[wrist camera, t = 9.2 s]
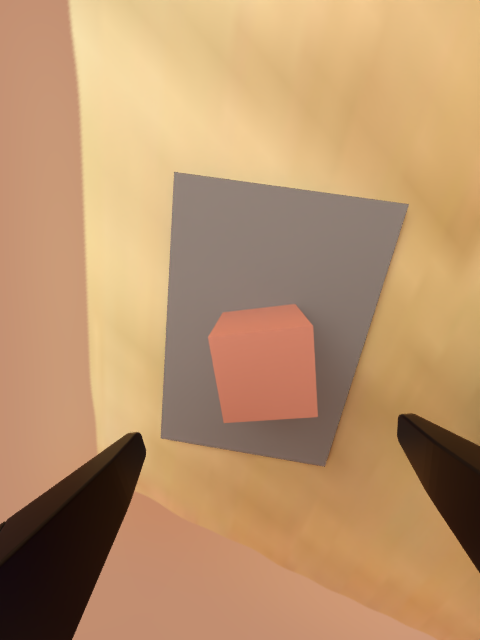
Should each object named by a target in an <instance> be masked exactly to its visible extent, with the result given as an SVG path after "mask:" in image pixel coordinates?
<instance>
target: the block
mask: <svg viewBox="0 0 480 640" xmlns="http://www.w3.org/2000/svg"><path fill="white" fill-rule="evenodd" d="M208 340H209V345H210V351H211V356H212V362H213V367H214V373H215V378H216V384H217V389H218V394H219V400H220V405H221V411H222V416H223V422H224V423H233V422H248V421H264V420H279V419H295V418H310V417H318V410H317V390H316V371H315V352H314V333H313V325H312V324H311V323H310V322H309V320H308V319H307V318H306V317H305V315H304V314H303V313H302V312H301V310H300V309H299V308H298V307H297V305H296V304H290V305H282V306H273V307H265V308H256V309H247V310H239V311H230V312H223V313H222V314H221V316H220V318H219V320H218V321H217V323H216V325H215V326H214V328H213V330H212V331H211V333H210V335H209V336H208Z"/></svg>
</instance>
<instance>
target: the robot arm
mask: <svg viewBox="0 0 480 640" xmlns="http://www.w3.org/2000/svg"><path fill="white" fill-rule="evenodd" d="M397 437H398V441H399V443H400V445H401V447H402V448H403V450H404V452H405V454H406V456H407V458H408V459H409V461H410V463H411V465H412V467H413V469H414V470H415V472H416V474H417V476H418V478H419V480H420V481H421V483H422V485H423V487H424V489H425V490H426V492H427V494H428V495H429V497H430V498H431V500H432V502H433V503H434V505H435V506H436V508H437V509H438V511H439V512H440V514H441V515H442V517H443V518H444V520H445V521H446V523H447V524H448V526H449V527H450V529H451V530H452V532H453V533H454V535H455V536H456V538H457V539H458V541H459V542H460V544H461V545H462V547H463V549H464V550H465V552H466V553H467V555H468V556H469V558H470V559H471V561H472V562H473V564H474V565H475V567H476V568H477V570H478V571H479V573H480V446H478V445H476V444H474V443H472V442H470V441H468V440H466V439H464V438H462V437H460V436H458V435H456V434H454V433H452V432H450V431H448V430H446V429H444V428H442V427H440V426H438V425H436V424H434V423H432V422H430V421H428V420H426V419H424V418H422V417H420V416H418V415H415V414H401V415H399V417H398V428H397ZM145 457H146V448H145V445H144V442H143V439H142V436H141V434H140V433H139V432H133V433H128V434H126V435H125V436H123V437H122V438H120V439H119V440H118V441H116V442H115V443H113V444H112V445H111V446H109V447H108V448H106V449H105V450H104V451H102V452H101V453H99V454H98V455H97V456H95V457H94V458H92V459H91V460H90V461H88V462H87V463H85V464H84V465H83V466H81V467H80V468H78V469H77V470H76V471H74V472H73V473H71V474H70V475H69V476H67V477H66V478H64V479H63V480H62V481H60V482H59V483H58V484H56V485H55V486H53V487H52V488H51V489H49V490H48V491H47V492H45V493H43V494H42V495H41V496H39V497H38V498H37V499H35V500H34V501H32V502H31V503H29V504H28V505H27V506H25V507H24V508H22V509H21V510H20V511H18V512H17V513H15V514H14V515H13V516H12V517H10V518H9V519H7V521H6V522H3V523H1V524H0V640H72V638H73V636H74V634H75V631H76V629H77V627H78V624H79V622H80V620H81V617H82V615H83V613H84V610H85V608H86V606H87V603H88V601H89V599H90V596H91V594H92V591H93V589H94V587H95V584H96V582H97V580H98V578H99V575H100V573H101V570H102V568H103V566H104V563H105V561H106V559H107V556H108V554H109V552H110V549H111V547H112V545H113V542H114V540H115V538H116V535H117V533H118V530H119V528H120V526H121V524H122V521H123V519H124V517H125V514H126V512H127V509H128V507H129V504H130V502H131V499H132V496H133V493H134V490H135V487H136V484H137V481H138V478H139V475H140V472H141V469H142V466H143V463H144V460H145Z"/></svg>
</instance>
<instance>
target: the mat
mask: <svg viewBox="0 0 480 640" xmlns="http://www.w3.org/2000/svg"><path fill="white" fill-rule="evenodd" d="M408 205H409V204H403V203H396V202H389V201H381V200H374V199H367V198H359V197H352V196H345V195H338V194H330V193H323V192H316V191H309V190H301V189H294V188H287V187H280V186H272V185H265V184H258V183H250V182H243V181H236V180H229V179H221V178H214V177H207V176H200V175H192V174H185V173H178V172H174V187H173V206H172V226H171V246H170V266H169V286H168V305H167V325H166V345H165V365H164V385H163V404H162V424H161V438H162V439H168V440H174V441H179V442H185V443H191V444H197V445H203V446H208V447H214V448H220V449H226V450H232V451H237V452H243V453H249V454H255V455H261V456H266V457H272V458H278V459H284V460H290V461H295V462H301V463H307V464H313V465H319V466H324V467H325V464H326V461H327V458H328V455H329V452H330V449H331V446H332V443H333V439H334V436H335V433H336V430H337V427H338V424H339V421H340V418H341V414H342V411H343V408H344V405H345V402H346V399H347V396H348V393H349V390H350V386H351V383H352V380H353V377H354V374H355V371H356V368H357V365H358V361H359V358H360V355H361V352H362V349H363V346H364V343H365V340H366V336H367V333H368V330H369V327H370V324H371V321H372V318H373V315H374V311H375V308H376V305H377V302H378V299H379V296H380V293H381V290H382V287H383V283H384V280H385V277H386V274H387V271H388V268H389V265H390V262H391V258H392V255H393V252H394V249H395V246H396V243H397V240H398V237H399V233H400V230H401V227H402V224H403V221H404V218H405V215H406V212H407V208H408ZM290 304H296V305H297V307H298V308H299V309H300V310H301V312H302V313H303V314H304V315H305V317H306V318H307V319H308V320H309V322H310V323H311V324H312V325H313V333H314V352H315V371H316V390H317V410H318V417H310V418H295V419H279V420H264V421H248V422H233V423H224V422H223V416H222V411H221V405H220V400H219V394H218V389H217V384H216V378H215V373H214V367H213V362H212V356H211V351H210V345H209V340H208V336H209V335H210V333H211V331H212V330H213V328H214V326H215V325H216V323H217V321H218V320H219V318H220V316H221V314H222V313H223V312H230V311H239V310H247V309H256V308H265V307H273V306H282V305H290Z"/></svg>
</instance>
